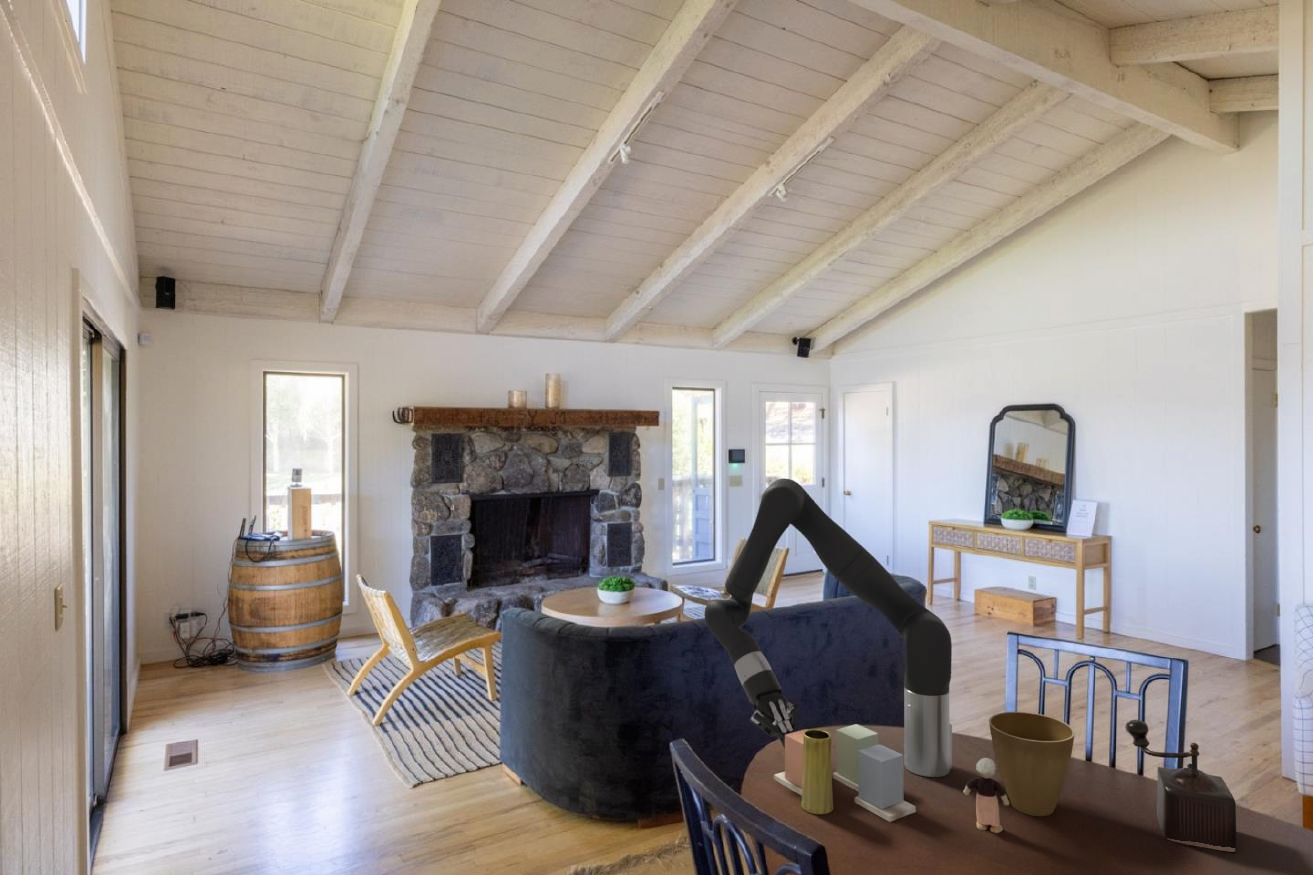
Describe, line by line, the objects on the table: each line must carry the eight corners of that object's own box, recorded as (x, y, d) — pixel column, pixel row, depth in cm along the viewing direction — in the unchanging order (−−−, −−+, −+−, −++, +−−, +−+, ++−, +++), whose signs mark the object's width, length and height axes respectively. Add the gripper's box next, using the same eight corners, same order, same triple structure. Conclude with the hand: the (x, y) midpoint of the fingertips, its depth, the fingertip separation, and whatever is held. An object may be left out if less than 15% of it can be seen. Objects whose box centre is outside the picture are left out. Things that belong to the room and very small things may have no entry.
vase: (833, 816, 143) (833, 741, 143) (800, 813, 144) (800, 738, 144) (832, 801, 149) (832, 729, 149) (801, 798, 150) (801, 726, 150)
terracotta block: (806, 771, 159) (806, 728, 159) (826, 782, 154) (826, 738, 154) (784, 778, 156) (784, 734, 156) (804, 789, 151) (804, 744, 151)
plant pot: (997, 782, 157) (997, 705, 157) (1079, 802, 148) (1079, 721, 148) (981, 811, 144) (981, 728, 144) (1069, 835, 136) (1069, 747, 136)
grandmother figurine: (1007, 825, 139) (1007, 757, 139) (1010, 835, 136) (1009, 765, 136) (962, 818, 142) (962, 751, 142) (964, 828, 138) (963, 759, 138)
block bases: (836, 759, 168) (836, 755, 168) (929, 806, 147) (929, 801, 147) (773, 779, 158) (773, 774, 158) (863, 832, 137) (863, 826, 137)
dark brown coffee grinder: (1221, 824, 140) (1221, 727, 140) (1238, 855, 130) (1238, 750, 130) (1123, 807, 146) (1123, 714, 146) (1132, 834, 136) (1132, 735, 136)
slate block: (879, 788, 151) (879, 744, 151) (903, 801, 146) (903, 754, 146) (858, 796, 148) (858, 750, 148) (882, 809, 143) (881, 761, 143)
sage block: (856, 765, 162) (856, 723, 162) (878, 776, 157) (878, 733, 157) (836, 772, 159) (836, 729, 159) (857, 783, 154) (857, 739, 154)
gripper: (740, 673, 163) (778, 750, 153) (787, 663, 170) (826, 736, 159) (726, 691, 168) (761, 766, 157) (772, 680, 174) (808, 752, 164)
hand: (794, 751), depth 158 cm, fingers closed
